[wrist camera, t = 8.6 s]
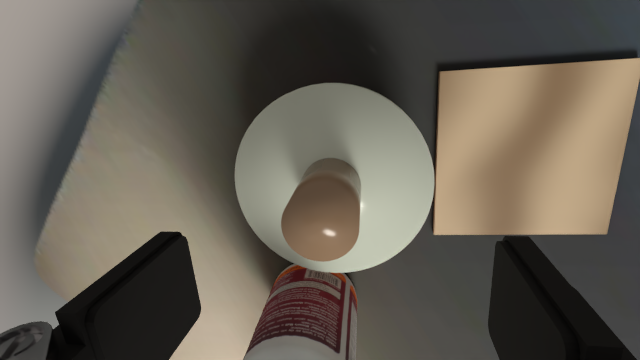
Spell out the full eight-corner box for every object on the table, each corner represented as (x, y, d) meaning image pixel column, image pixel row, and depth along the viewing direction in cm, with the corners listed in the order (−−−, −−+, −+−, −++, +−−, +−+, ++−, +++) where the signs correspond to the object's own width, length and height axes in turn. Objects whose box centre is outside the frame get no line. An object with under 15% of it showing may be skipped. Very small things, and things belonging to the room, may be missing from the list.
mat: (638, 57, 18) (643, 57, 18) (602, 230, 21) (606, 234, 21) (438, 71, 20) (440, 71, 19) (433, 231, 23) (434, 234, 22)
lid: (434, 75, 16) (465, 82, 11) (428, 265, 19) (450, 337, 14) (226, 89, 17) (170, 100, 12) (252, 264, 20) (216, 329, 16)
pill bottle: (258, 279, 26) (181, 434, 15) (327, 242, 24) (295, 387, 13) (305, 339, 27) (265, 521, 16) (374, 308, 25) (379, 488, 15)
